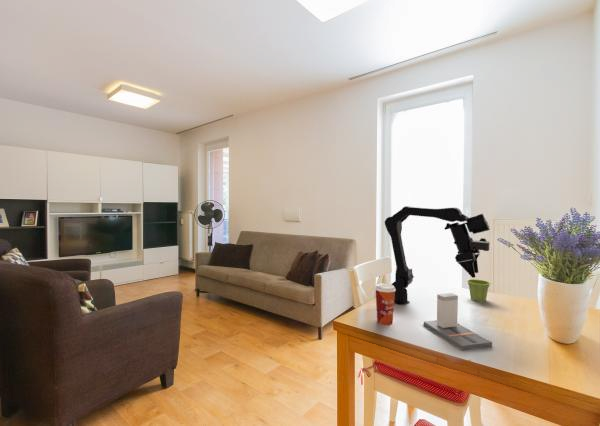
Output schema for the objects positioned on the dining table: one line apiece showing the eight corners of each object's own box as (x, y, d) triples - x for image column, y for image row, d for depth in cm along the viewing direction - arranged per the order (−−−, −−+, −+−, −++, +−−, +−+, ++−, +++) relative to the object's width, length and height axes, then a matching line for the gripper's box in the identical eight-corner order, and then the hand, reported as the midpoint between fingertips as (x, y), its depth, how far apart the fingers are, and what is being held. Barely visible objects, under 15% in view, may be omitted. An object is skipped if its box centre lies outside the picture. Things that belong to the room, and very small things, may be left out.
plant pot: (463, 296, 144) (464, 278, 143) (485, 297, 142) (485, 279, 142) (470, 302, 135) (471, 283, 134) (493, 304, 133) (494, 284, 132)
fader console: (423, 325, 109) (423, 321, 109) (449, 322, 112) (449, 318, 112) (462, 350, 91) (462, 345, 91) (491, 346, 93) (492, 341, 93)
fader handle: (436, 324, 106) (437, 294, 106) (451, 323, 107) (451, 293, 107) (442, 327, 103) (443, 296, 103) (457, 326, 104) (457, 295, 104)
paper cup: (384, 327, 108) (384, 289, 107) (370, 320, 114) (370, 284, 114) (400, 323, 111) (400, 286, 111) (385, 316, 118) (385, 282, 117)
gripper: (480, 233, 107) (496, 275, 105) (486, 229, 122) (500, 266, 120) (448, 241, 114) (463, 281, 111) (457, 237, 129) (470, 272, 126)
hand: (475, 275), depth 117 cm, fingers open, 9 cm apart
